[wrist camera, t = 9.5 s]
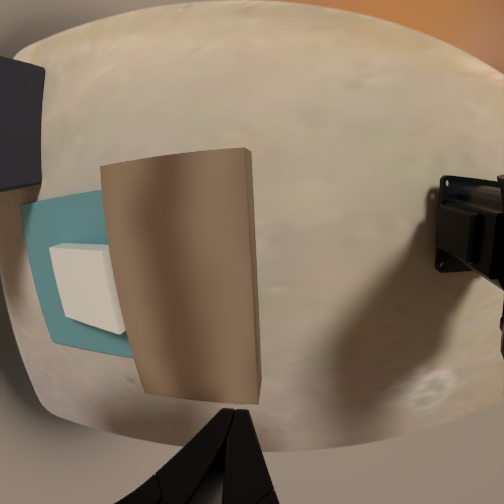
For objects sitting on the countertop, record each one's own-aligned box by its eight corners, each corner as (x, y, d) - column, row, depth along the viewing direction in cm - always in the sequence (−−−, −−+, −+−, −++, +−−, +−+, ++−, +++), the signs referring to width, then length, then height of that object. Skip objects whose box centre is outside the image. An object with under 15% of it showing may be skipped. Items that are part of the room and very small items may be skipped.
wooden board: (251, 151, 17) (244, 147, 14) (261, 379, 22) (258, 404, 19) (123, 165, 18) (100, 166, 16) (157, 371, 23) (144, 392, 20)
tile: (117, 245, 18) (101, 251, 17) (132, 325, 19) (119, 334, 18) (62, 242, 20) (49, 247, 19) (77, 309, 22) (65, 316, 20)
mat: (121, 187, 19) (119, 187, 18) (151, 357, 22) (149, 359, 22) (23, 204, 20) (20, 205, 20) (54, 340, 24) (52, 341, 24)
